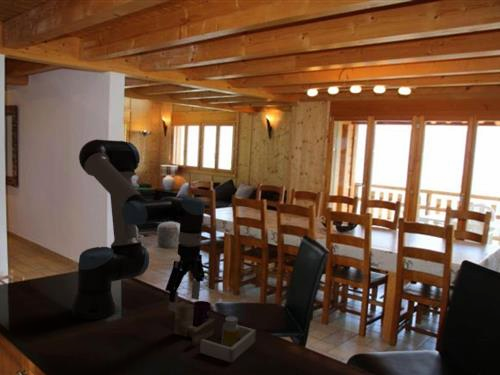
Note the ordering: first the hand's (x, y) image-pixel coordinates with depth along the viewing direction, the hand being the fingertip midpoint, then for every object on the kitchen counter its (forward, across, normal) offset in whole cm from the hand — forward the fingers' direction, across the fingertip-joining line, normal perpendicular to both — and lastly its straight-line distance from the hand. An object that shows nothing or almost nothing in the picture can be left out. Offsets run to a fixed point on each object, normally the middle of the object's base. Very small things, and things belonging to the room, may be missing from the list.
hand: (184, 304), depth 148 cm
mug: (+10, +12, +1) cm, 16 cm away
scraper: (+10, 0, -4) cm, 11 cm away
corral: (+10, 0, -18) cm, 20 cm away
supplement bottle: (+10, 0, -19) cm, 21 cm away
